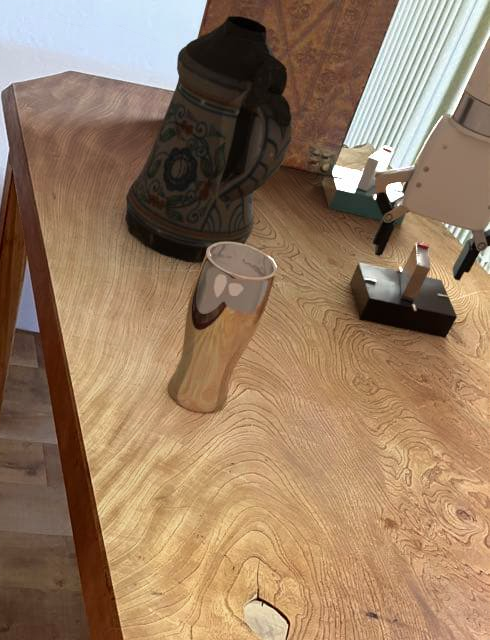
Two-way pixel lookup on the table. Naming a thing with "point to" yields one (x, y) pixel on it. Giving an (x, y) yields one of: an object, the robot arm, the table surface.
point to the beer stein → (213, 144)
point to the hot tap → (415, 271)
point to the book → (316, 64)
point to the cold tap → (374, 167)
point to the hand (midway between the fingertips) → (416, 263)
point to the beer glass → (220, 322)
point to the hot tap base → (401, 301)
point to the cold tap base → (355, 193)
